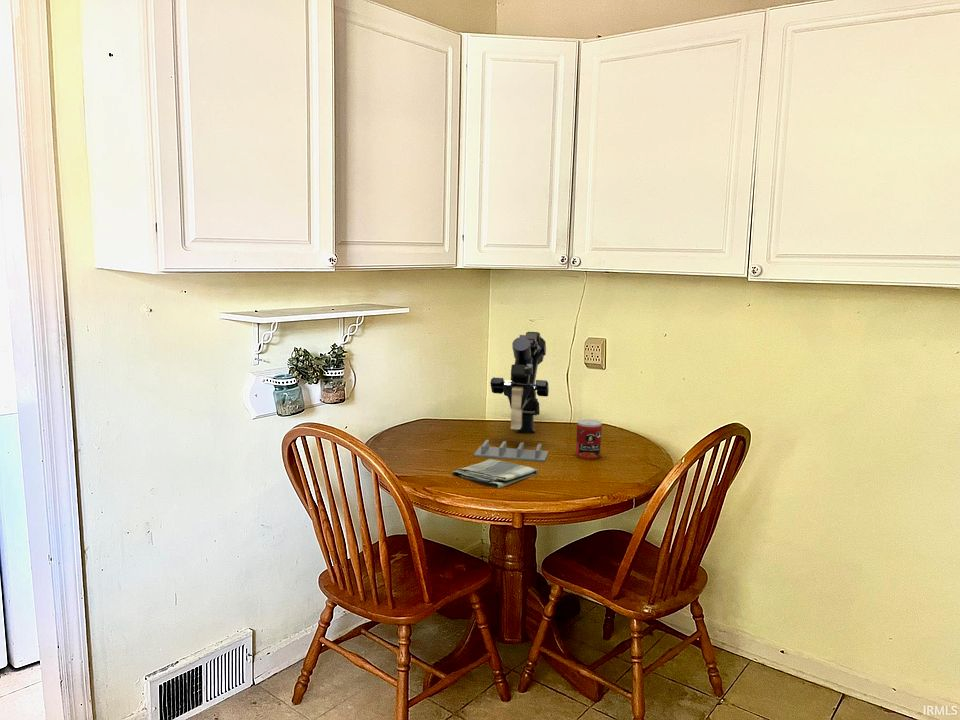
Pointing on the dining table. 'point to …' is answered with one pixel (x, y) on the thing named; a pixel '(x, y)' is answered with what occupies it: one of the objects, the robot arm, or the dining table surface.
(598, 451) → the canned food
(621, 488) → the dining table surface
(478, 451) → the slotted rack
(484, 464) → the dish towel
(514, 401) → the birch block
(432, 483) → the dining table surface
